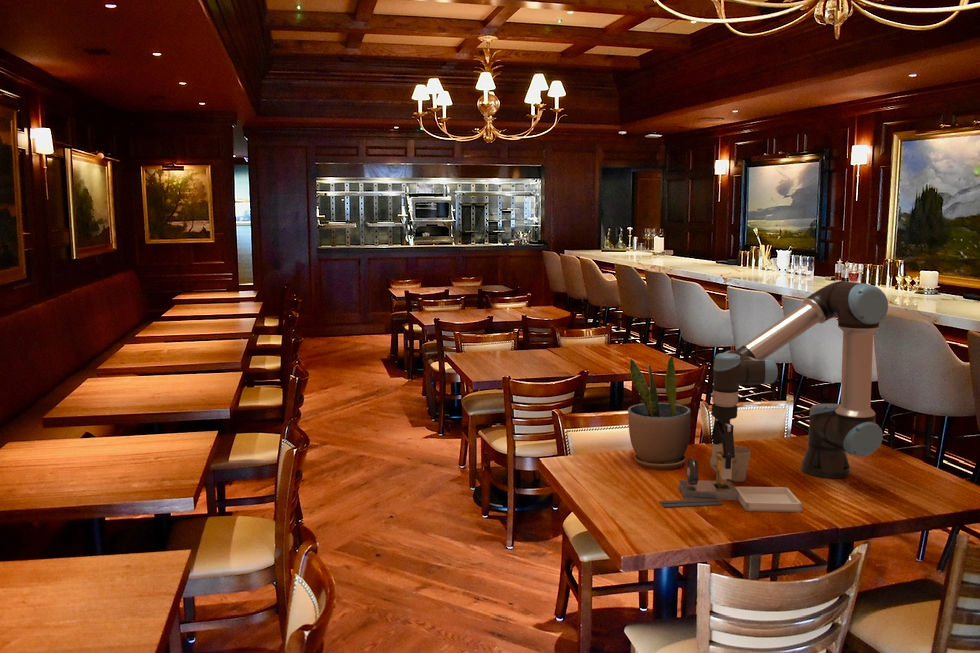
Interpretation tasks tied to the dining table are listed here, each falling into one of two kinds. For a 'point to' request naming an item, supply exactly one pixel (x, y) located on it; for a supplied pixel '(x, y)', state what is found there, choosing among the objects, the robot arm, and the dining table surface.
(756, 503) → the tray
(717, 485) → the pin
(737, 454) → the mug
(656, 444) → the potted plant
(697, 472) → the block
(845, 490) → the dining table surface
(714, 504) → the pair of grey strips
